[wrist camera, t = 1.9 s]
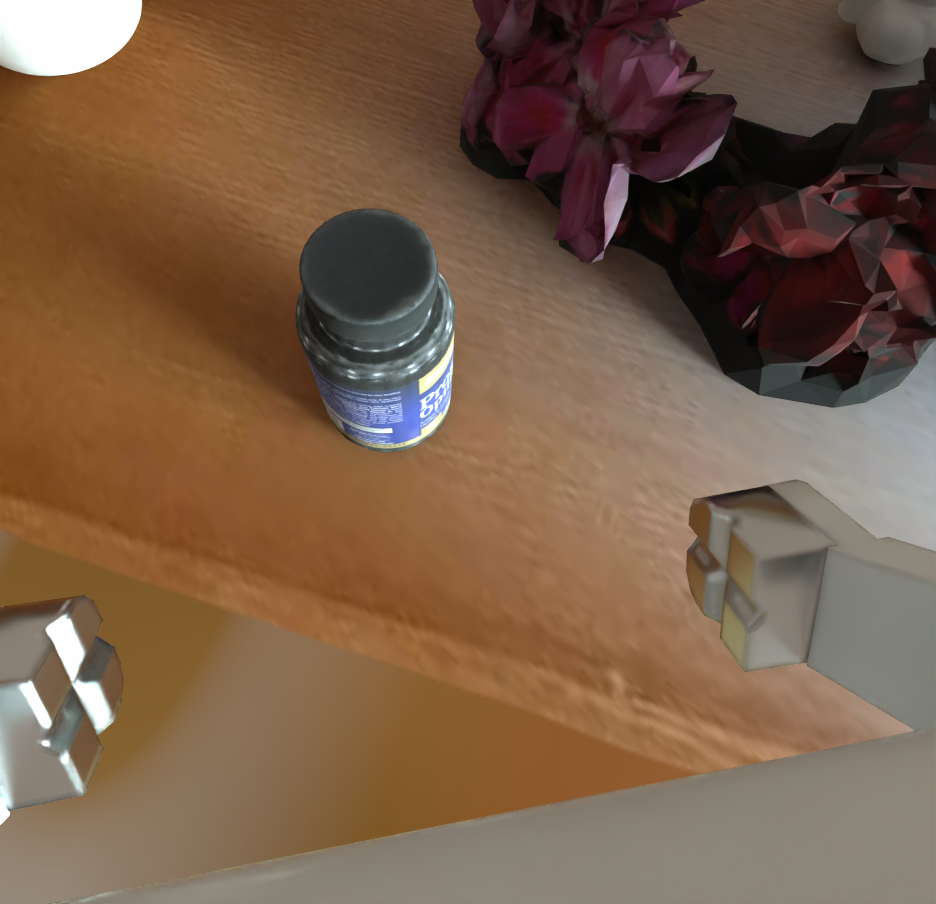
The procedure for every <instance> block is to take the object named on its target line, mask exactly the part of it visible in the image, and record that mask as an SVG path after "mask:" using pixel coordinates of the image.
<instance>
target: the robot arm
mask: <svg viewBox="0 0 936 904" xmlns="http://www.w3.org/2000/svg"><path fill="white" fill-rule="evenodd" d="M689 526H690V527H691V528H692V530H693V531H694V532H695V533H696V534H697V536H698V537H697V539H696V540H695V541H694V543H693V544H692V545H691V546H690V548H689V549H688V550H687V566H686V572H687V577H688V581H689V586H690V590H691V593H692V595H693V597H694V599H695V602H696V604H697V605H698V607H699V608H700V610H701V611H702V613H703V614H704V615H705V616H707V617H709V618H711V619H713V620H715V621H717V622H719V623H721V631H720V638H721V640H722V641H723V642H724V644H725V645H726V647H727V648H728V649H729V651H730V652H731V653H732V655H733V656H734V658H735V659H736V660H737V662H738V663H739V665H740V666H741V667H742V669H743V670H744V672H749V671H755V670H762V669H768V668H774V667H781V666H787V665H794V664H800V663H806V662H807V666H809V667H810V668H812V669H814V670H815V671H817V672H819V673H820V674H822V675H824V676H825V677H827V678H829V679H830V680H832V681H834V682H836V683H837V684H839V685H841V686H842V687H844V688H846V689H847V690H849V691H851V692H852V693H854V694H856V695H857V696H859V697H861V698H862V699H864V700H866V701H867V702H869V703H871V704H872V705H874V706H876V707H877V708H879V709H881V710H882V711H884V712H886V713H887V714H889V715H891V716H892V717H894V718H896V719H897V720H899V721H901V722H902V723H904V724H906V725H907V726H909V727H911V728H912V729H914V730H916V731H913V732H908V733H903V734H899V735H894V736H889V737H884V738H879V739H874V740H869V741H864V742H859V743H854V744H849V745H844V746H839V747H834V748H829V749H824V750H819V751H815V752H810V753H805V754H800V755H795V756H790V757H785V758H780V759H775V760H770V761H765V762H760V763H754V764H749V765H744V766H739V767H734V768H729V769H724V770H719V771H714V772H709V773H704V774H699V775H694V776H689V777H684V778H679V779H673V780H669V781H663V782H658V783H653V784H648V785H643V786H638V787H633V788H628V789H623V790H618V791H613V792H608V793H603V794H597V795H592V796H587V797H582V798H577V799H572V800H567V801H562V802H557V803H552V804H547V805H542V806H537V807H532V808H527V809H522V810H517V811H512V812H507V813H502V814H497V815H492V816H487V817H482V818H477V819H472V820H467V821H462V822H457V823H452V824H447V825H442V826H437V827H432V828H427V829H422V830H417V831H412V832H407V833H402V834H397V835H392V836H387V837H382V838H377V839H372V840H368V841H362V842H357V843H352V844H347V845H342V846H337V847H332V848H327V849H322V850H317V851H312V852H307V853H302V854H297V855H292V856H287V857H282V858H277V859H272V860H267V861H262V862H257V863H252V864H247V865H242V866H237V867H232V868H227V869H222V870H217V871H212V872H207V873H202V874H197V875H192V876H187V877H182V878H177V879H172V880H167V881H162V882H157V883H152V884H147V885H142V886H137V887H132V888H127V889H122V890H117V891H112V892H107V893H102V894H97V895H91V896H87V897H82V898H76V899H71V900H66V901H61V902H57V903H52V904H936V552H935V551H932V550H929V549H926V548H922V547H919V546H916V545H913V544H909V543H906V542H903V541H900V540H896V539H893V538H890V537H886V538H880V539H877V538H876V537H874V536H873V535H872V534H871V533H869V532H868V531H867V530H866V529H864V528H863V527H862V526H861V525H859V524H858V523H857V522H856V521H854V520H853V519H852V518H851V517H849V516H848V515H847V514H846V513H844V512H843V511H842V510H840V509H839V508H838V507H837V506H835V505H834V504H833V503H832V502H830V501H829V500H828V499H827V498H825V497H824V496H823V495H822V494H820V493H819V492H818V491H817V490H815V489H814V488H813V487H811V486H810V485H809V484H808V483H806V482H803V481H800V480H791V481H786V482H781V483H776V484H771V485H766V486H762V487H758V488H752V489H747V490H741V491H736V492H730V493H725V494H719V495H713V496H708V497H702V498H697V499H694V500H693V503H692V505H691V508H690V515H689ZM102 622H103V619H102V617H101V615H100V613H99V611H98V609H97V606H96V604H95V602H94V600H92V599H90V598H88V597H86V596H84V595H82V596H75V597H68V598H61V599H54V600H47V601H39V602H32V603H25V604H18V605H11V606H5V607H3V608H2V607H0V824H1V823H2V822H3V821H4V820H5V819H6V818H7V817H8V816H9V814H10V813H9V811H11V810H16V809H20V808H25V807H30V806H34V805H39V804H43V803H48V802H53V801H57V800H62V799H67V798H72V797H77V796H81V795H84V794H85V792H86V790H87V788H88V785H89V783H90V780H91V778H92V775H93V773H94V770H95V768H96V765H97V763H98V760H99V758H100V756H101V753H102V751H103V747H102V744H101V742H100V740H99V738H98V736H97V735H98V734H99V733H101V732H102V731H103V730H104V729H105V728H106V727H107V726H108V725H109V724H111V723H112V722H113V721H114V720H115V718H116V715H117V713H118V710H119V706H120V704H121V701H122V691H123V690H122V689H123V673H122V668H121V662H120V660H119V657H118V654H117V652H116V649H115V647H114V646H112V645H110V644H109V643H108V642H106V641H104V640H103V639H101V638H100V637H98V636H97V633H98V631H99V629H100V626H101V624H102Z"/></svg>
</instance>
